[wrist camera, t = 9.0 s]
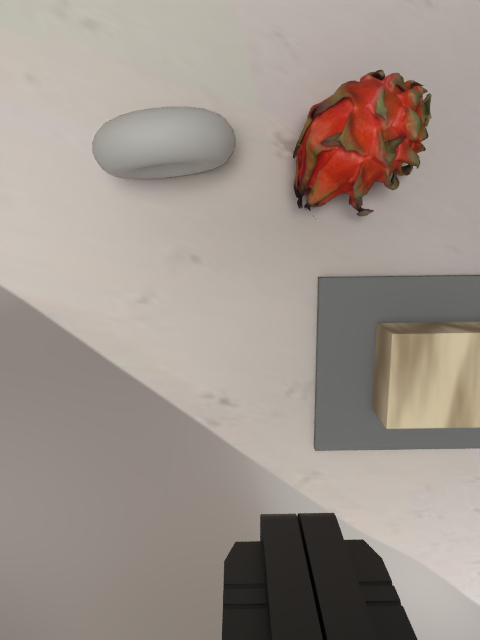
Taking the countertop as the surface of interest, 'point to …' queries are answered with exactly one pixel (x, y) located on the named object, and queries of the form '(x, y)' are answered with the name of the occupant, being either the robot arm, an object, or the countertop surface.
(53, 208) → the countertop surface
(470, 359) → the maple block
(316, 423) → the rubber mat
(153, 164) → the donut
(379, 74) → the dragon fruit
